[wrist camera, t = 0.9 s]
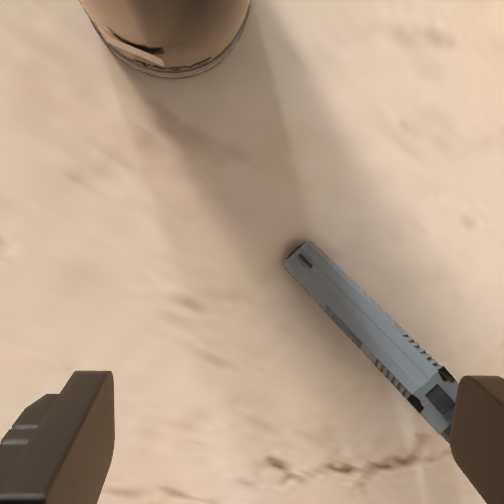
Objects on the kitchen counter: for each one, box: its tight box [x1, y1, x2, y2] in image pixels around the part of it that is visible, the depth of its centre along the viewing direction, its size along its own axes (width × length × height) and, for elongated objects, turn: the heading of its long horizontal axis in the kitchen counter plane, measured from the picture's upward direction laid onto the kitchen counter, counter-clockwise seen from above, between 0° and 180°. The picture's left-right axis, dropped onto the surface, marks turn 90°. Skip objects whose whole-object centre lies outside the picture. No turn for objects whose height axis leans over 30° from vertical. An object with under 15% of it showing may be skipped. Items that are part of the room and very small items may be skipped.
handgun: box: [286, 242, 459, 444], centre depth 29 cm, size 2×14×12 cm
